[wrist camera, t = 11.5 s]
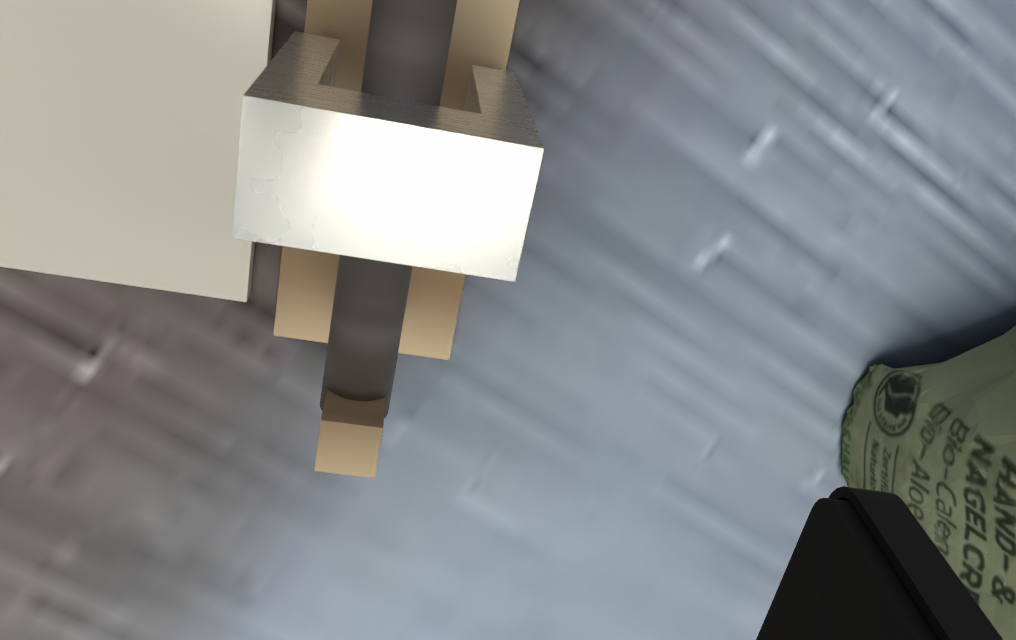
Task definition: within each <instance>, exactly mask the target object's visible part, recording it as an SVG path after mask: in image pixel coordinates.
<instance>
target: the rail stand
mask: <svg viewBox="0 0 1016 640" xmlns="http://www.w3.org/2000/svg"><path fill="white" fill-rule="evenodd" d="M518 5H519V0H307V10H306V19H305V29H304V33H307V34H312V35H318V36H323V37H328V38H333V39H339V40H340V44H339V52H338V61H337V69H336V78H335V86H334V87H335V88H340V89H346V90H351V91H357V92H362V93H368V94H373V95H379V96H384V97H390V98H395V99H401V100H406V101H412V102H417V103H423V104H428V105H434V106H439V107H445V108H450V109H456V110H461V111H464V107H465V101H466V96H467V90H468V84H469V79H470V73H471V68H472V65H476V66H481V67H486V68H492V69H497V70H502V71H506V66H507V61H508V56H509V51H510V46H511V41H512V36H513V31H514V26H515V20H516V15H517V10H518ZM465 276H466V274H462V273H455V272H449V271H442V270H436V269H429V268H423V267H417V266H410V265H404V264H397V263H391V262H384V261H378V260H371V259H365V258H358V257H352V256H345V255H339V254H332V253H326V252H319V251H313V250H306V249H300V248H294V247H287V246H282V256H281V266H280V276H279V286H278V296H277V305H276V315H275V325H274V336H281V337H288V338H295V339H302V340H309V341H317V342H324V343H328V347H327V354H326V362H325V370H324V377H323V385H322V393H321V400H320V407H321V410H322V411H323V413H322V418H321V424H320V431H319V439H318V447H317V454H316V462H315V469H314V471H320V472H329V473H337V474H345V475H354V476H362V477H371V478H375V473H376V467H377V461H378V455H379V449H380V443H381V437H382V431H383V422H384V418H385V417H386V416H387V414H388V409H389V403H390V398H391V392H392V386H393V380H394V374H395V368H396V362H397V356H398V353H402V354H410V355H417V356H424V357H431V358H438V359H445V360H449V357H450V352H451V347H452V342H453V337H454V332H455V327H456V322H457V317H458V311H459V306H460V301H461V296H462V291H463V286H464V281H465Z"/></svg>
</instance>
